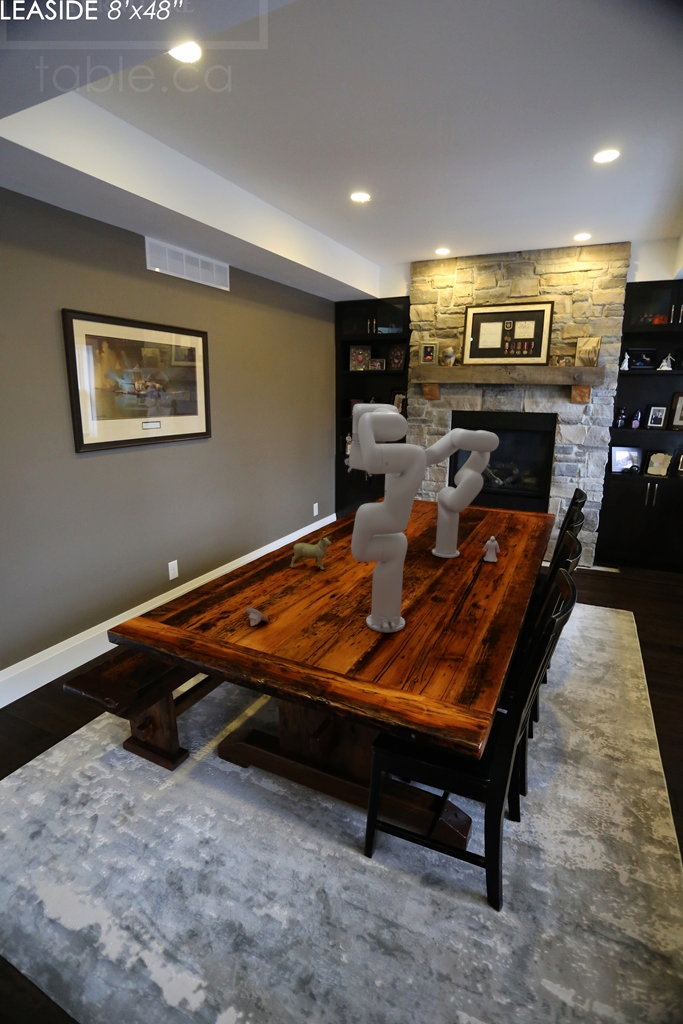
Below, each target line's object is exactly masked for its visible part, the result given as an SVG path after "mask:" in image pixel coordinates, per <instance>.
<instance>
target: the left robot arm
mask: <svg viewBox="0 0 683 1024" xmlns="http://www.w3.org/2000/svg"><path fill="white" fill-rule="evenodd" d="M408 424H409V423H408V420H407V418H405V417H404V415H402V414H401V413H400V412H399V409H398V407H397V406H395V405H393V404H387V403H386V404H385V403H356V404H354V405H353V408H352V437H351V439H352V441H351V443H350V448H349V455H348V456H349V457H347V458H345V459H344V464H345V468H346V469H347V473H348V484H355V483H356V481H357V472H356V470H359V471H364V472H365V471H366V472H367V474H368V475H367V484H366V486H367V488H373V487H375V486H376V477H377V475H384V474H385V475H386V474H393V473H401V474H400V476H399V477H397V478H396V479H395V480H394V481H393V482H392V483H391V484H390V485H389V487H388V488H387V490H386V493H385V492H384V499H383V501H381V502H368V503H364V504H361V505H360V506H359V507H358V508H357V510H356V514H355V519H354V524H353V530H352V537H351V545H350V552H351V556H352V558H353V559H354V560H355V561H356V562H360V563H372V562H377V563H376V564H375V566H374V569H373V571H372V585H371V586H372V587H371V607H370V609H371V613H370V615H368V616H367V617H366V621H365V622H366V623H365V624H366V625H367V627H368V628H369V629H372V630H373V631H376V632H379V633H396V632H398V631H402V630H403V629H404V628H405V626H406V620H405V618H403V617H402V615H401V614H402V599H403V598H402V597H403V580H404V578H403V577H404V567H405V559H406V557H407V556H406V555H407V551H408V538H407V536H406V534H405V533H404V532H405V531H406V529H407V528H408V525H409V522H410V519H411V518H410V517H411V515H412V510H413V506H414V503H415V502H414V501H415V498H416V495H417V493H418V492H419V489H420V488H421V486H422V484H423V481H424V479H425V476H426V471H427V467H428V466H427V459H426V454H425V451H424V450H425V449H423V447H421V446H419V445H417V444H412V443H376V442H396V441H399V440H402V439H403V438H404V437H405V436H406V435H407V433H408V430H409V425H408ZM426 466H427V467H426Z"/></svg>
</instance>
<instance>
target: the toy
mask: <svg viewBox="0 0 683 1024" xmlns="http://www.w3.org/2000/svg"><path fill="white" fill-rule="evenodd" d="M331 538H332V535H328V536H326V537H320V538H319V540H318V542H317V543H316V544H310V543H306V542H299V543H298V542H297V543H296V544H294V545H293V547H292V548H293V553H294V556H292V557H291V563H290V569H295V565H294V564H295V562H296V561H297V560H300V561H301V562H302V564H303V565H304V566H307V562H306V559H309V560H311V559H314V563H313V566H314V567H318V565H319V568H320V571H325V568H324V566H323V559H324V558H325V557H326V556H327V551H328V546H329V547H330V546H331V545H332V542H331V541H330V539H331ZM304 558H305V559H304Z"/></svg>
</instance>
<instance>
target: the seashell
mask: <svg viewBox="0 0 683 1024" xmlns="http://www.w3.org/2000/svg"><path fill="white" fill-rule="evenodd" d="M245 611H246V614H248V615H249V616H248V619H249V625H250V626H251V627H253V626H256V625H258V624H259V623H260V622H261V621H265V622H269V618H268V616H267V615H266V614H264V613H263V612H261V611H260V610H259V609H256V608H253V607H245Z"/></svg>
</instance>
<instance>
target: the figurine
mask: <svg viewBox="0 0 683 1024" xmlns="http://www.w3.org/2000/svg"><path fill="white" fill-rule="evenodd" d="M482 551H483V552H486V554H485V556H484V557H483V560H484V561H485V562H495V563H498V558H497V554H496V553H498V554H499V553H501V550H500V547H499V543H498V541H497V540H496V538H495V536H493V535H492V536H490V539H489V540H487V542H486V543H485V544H484V546H483V548H482Z"/></svg>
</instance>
